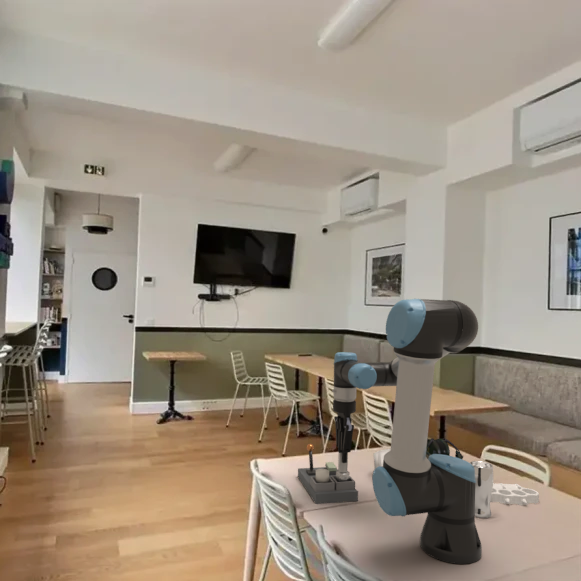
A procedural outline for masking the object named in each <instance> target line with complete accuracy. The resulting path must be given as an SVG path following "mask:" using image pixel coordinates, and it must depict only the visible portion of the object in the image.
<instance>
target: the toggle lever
mask: <svg viewBox="0 0 581 581" xmlns="http://www.w3.org/2000/svg"><path fill="white" fill-rule="evenodd" d="M314 448H315V446H314V444H312V443H308V444H307V446H306V451H308V460H309V462H308V463H309V468H310V470H311V471H313V468H314V460H313V451H314Z"/></svg>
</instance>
